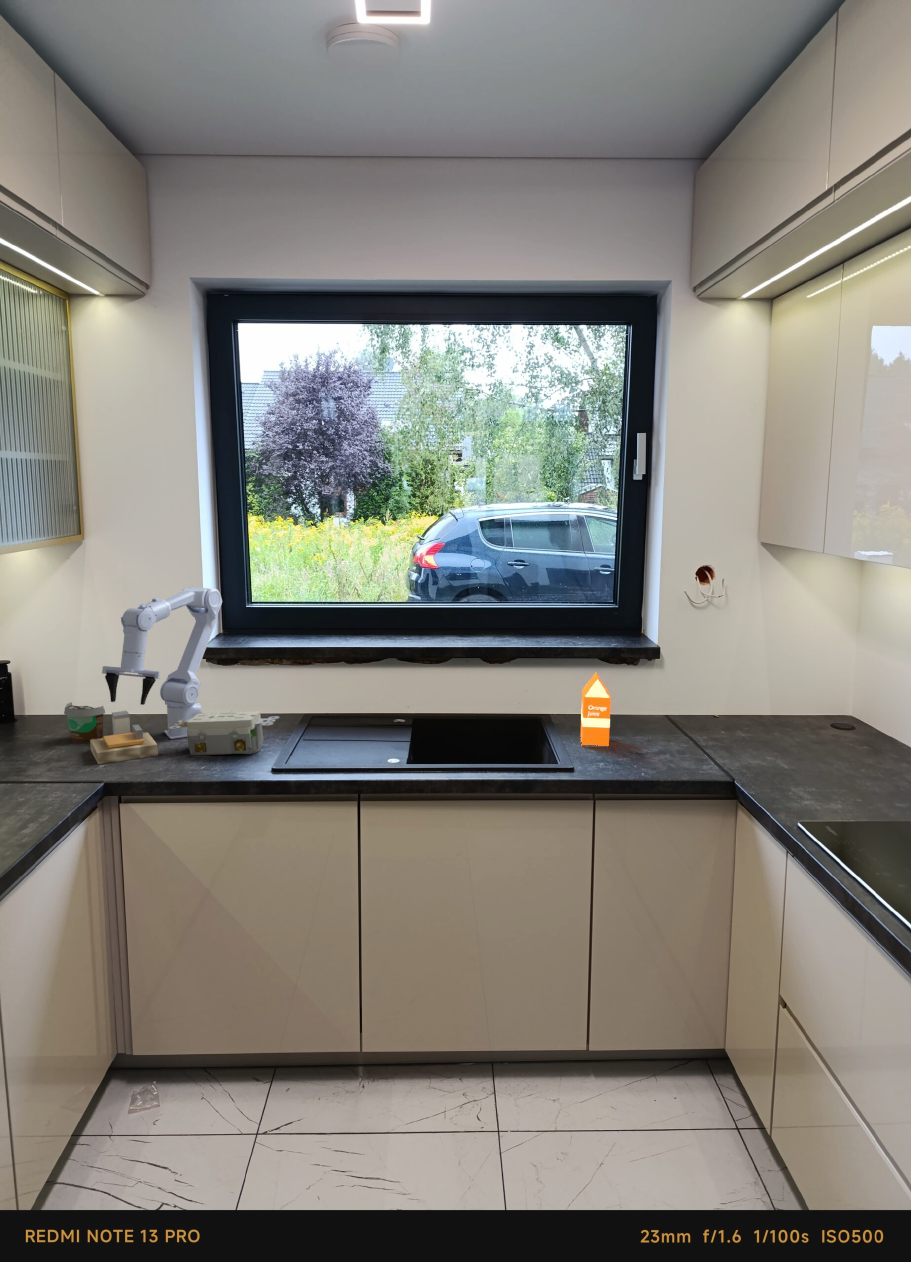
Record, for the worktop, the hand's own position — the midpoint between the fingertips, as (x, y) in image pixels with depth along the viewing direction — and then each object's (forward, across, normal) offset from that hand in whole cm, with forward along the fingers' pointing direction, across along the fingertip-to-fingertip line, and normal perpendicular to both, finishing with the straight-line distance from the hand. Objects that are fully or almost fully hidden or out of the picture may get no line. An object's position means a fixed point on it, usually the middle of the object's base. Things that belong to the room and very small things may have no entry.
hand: (127, 703), depth 226 cm
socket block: (+14, 0, +2) cm, 14 cm away
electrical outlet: (+11, +27, +2) cm, 29 cm away
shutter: (+10, 0, +2) cm, 11 cm away
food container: (+14, -14, +15) cm, 25 cm away
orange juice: (-1, +130, -2) cm, 130 cm away
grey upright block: (+12, -4, +14) cm, 19 cm away
